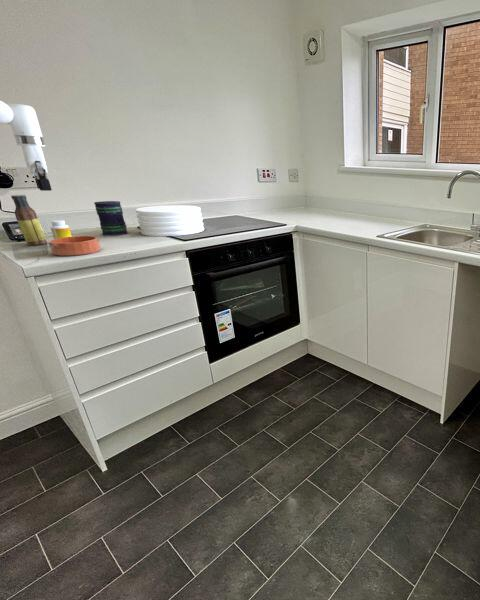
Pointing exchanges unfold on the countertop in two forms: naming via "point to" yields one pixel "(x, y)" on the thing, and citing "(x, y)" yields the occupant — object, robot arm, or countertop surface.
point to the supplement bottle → (60, 229)
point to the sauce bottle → (28, 221)
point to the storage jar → (111, 218)
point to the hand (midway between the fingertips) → (44, 189)
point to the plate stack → (170, 220)
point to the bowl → (74, 245)
